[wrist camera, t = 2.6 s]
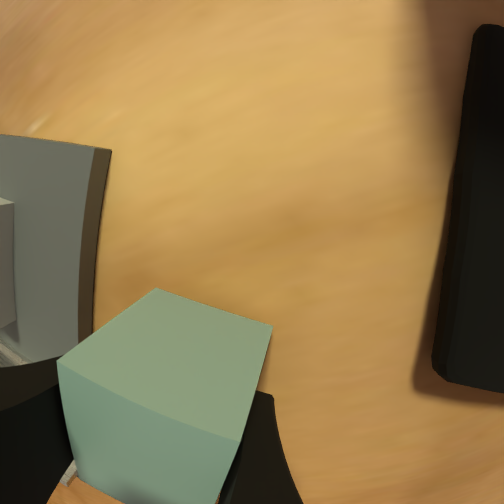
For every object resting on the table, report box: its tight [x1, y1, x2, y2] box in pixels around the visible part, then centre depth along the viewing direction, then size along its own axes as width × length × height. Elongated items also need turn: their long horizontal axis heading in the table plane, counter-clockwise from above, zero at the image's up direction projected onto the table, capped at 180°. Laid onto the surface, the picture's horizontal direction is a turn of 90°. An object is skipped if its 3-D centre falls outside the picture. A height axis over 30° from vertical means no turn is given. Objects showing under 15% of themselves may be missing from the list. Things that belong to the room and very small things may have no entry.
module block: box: [57, 288, 273, 504], centre depth 8 cm, size 5×4×5 cm
